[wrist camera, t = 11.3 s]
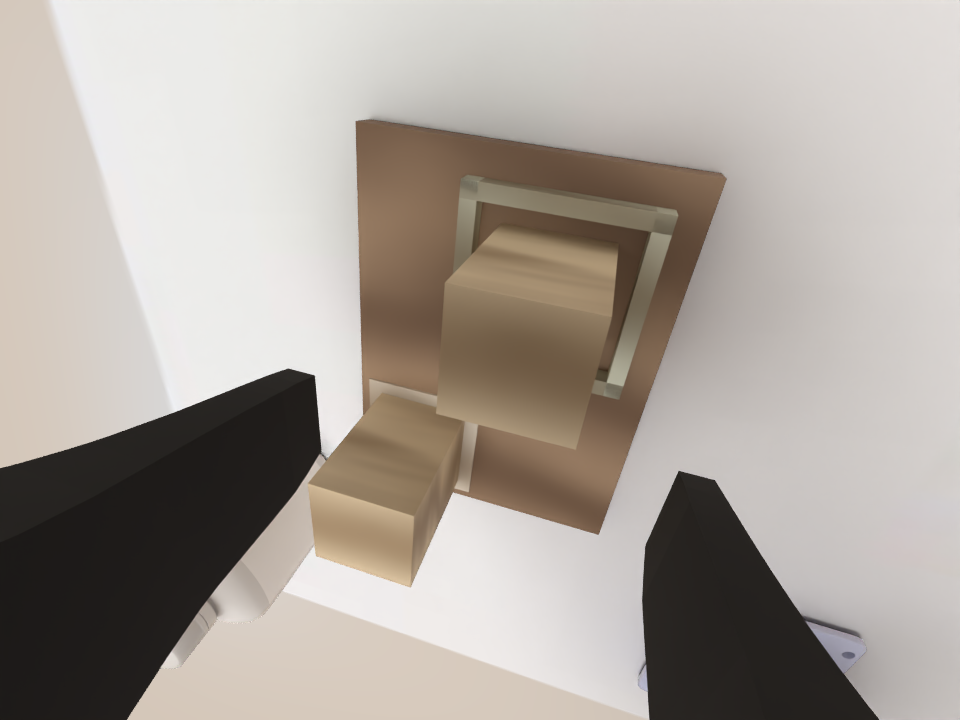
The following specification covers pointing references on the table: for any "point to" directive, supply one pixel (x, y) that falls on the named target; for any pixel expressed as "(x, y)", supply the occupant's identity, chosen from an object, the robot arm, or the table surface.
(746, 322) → the table surface
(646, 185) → the board
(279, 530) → the eye dropper bottle
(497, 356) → the maple peg
